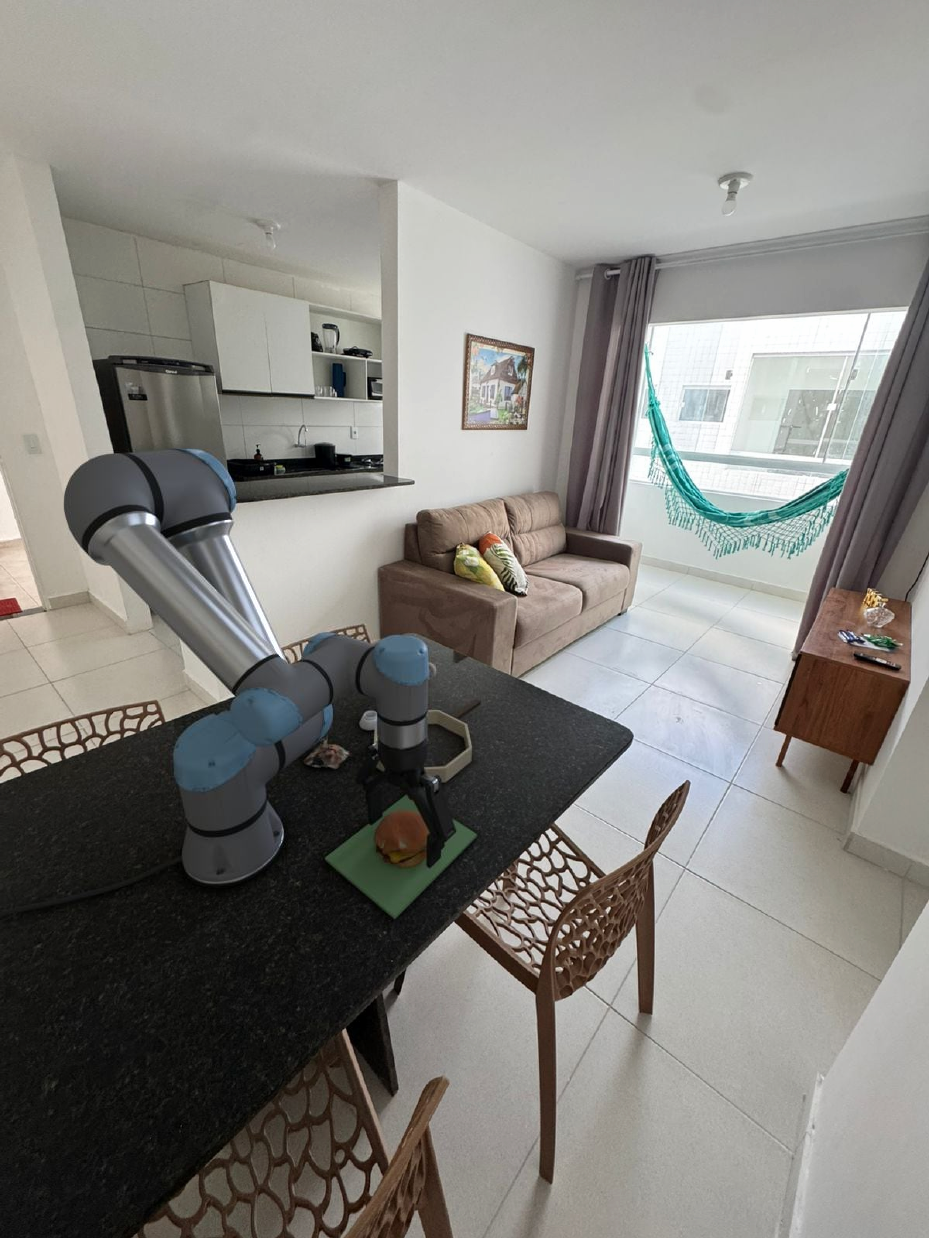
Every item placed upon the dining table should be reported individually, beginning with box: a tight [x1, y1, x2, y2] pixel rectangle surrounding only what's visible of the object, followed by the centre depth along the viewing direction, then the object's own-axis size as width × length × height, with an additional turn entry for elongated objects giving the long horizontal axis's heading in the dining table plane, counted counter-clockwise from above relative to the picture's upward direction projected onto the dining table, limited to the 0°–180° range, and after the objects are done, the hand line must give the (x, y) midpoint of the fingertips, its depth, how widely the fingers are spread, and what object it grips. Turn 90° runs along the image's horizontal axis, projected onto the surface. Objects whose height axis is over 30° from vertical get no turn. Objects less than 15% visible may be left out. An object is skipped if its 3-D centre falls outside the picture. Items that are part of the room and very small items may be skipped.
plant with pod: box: [303, 717, 353, 770], centre depth 102 cm, size 8×11×20 cm
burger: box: [374, 810, 430, 868], centre depth 85 cm, size 10×9×5 cm
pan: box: [373, 698, 482, 783], centre depth 113 cm, size 30×20×4 cm
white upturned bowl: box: [359, 710, 377, 731], centre depth 117 cm, size 5×3×5 cm
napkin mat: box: [324, 793, 478, 920], centre depth 86 cm, size 20×16×1 cm
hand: (403, 840), depth 85 cm, fingers open, 13 cm apart
